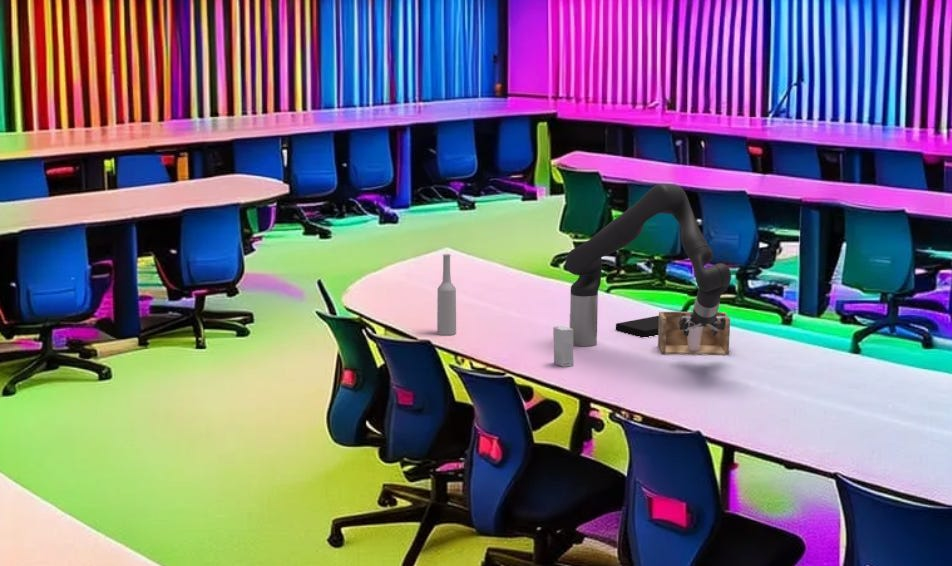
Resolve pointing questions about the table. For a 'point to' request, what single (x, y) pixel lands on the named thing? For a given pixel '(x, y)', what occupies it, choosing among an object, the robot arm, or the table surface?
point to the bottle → (446, 302)
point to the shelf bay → (676, 341)
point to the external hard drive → (640, 327)
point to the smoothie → (694, 338)
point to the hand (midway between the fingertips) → (699, 334)
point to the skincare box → (563, 346)
